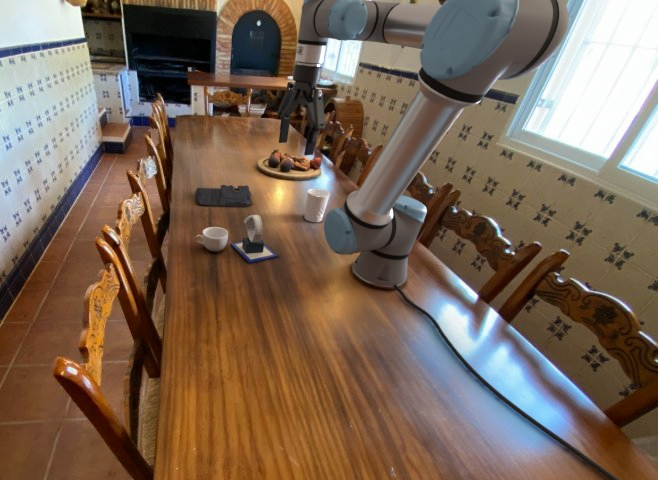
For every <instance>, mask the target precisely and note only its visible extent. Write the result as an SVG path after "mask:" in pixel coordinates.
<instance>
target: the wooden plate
mask: <svg viewBox="0 0 658 480" xmlns="http://www.w3.org/2000/svg"><path fill="white" fill-rule="evenodd" d="M321 166H322V158H321V157H314V158H312V159H310V160H309V158H308V157H307V156H305V155H304V156H303V155H302V156H300V155H299V156H295V155H290V154H288V153H287V152H285V153H284V154H282V151H281V150H280V149H279V148H277V149H273V151H272V152H271V153H270V156H269V155H268V156H264V157H262V158H260V159H258V160H257V162H256V167H257V169H258V170H259V172H261V173H263V174H265V175H268V176H271V177H273V178H277V179H282V180H290V181H291V180H292V181H305V180H311V179H316V178H317V177H319V176H320V175H321V174H322V172H323V170H322V169H323V168H322V167H321Z"/></svg>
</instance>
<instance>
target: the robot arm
mask: <svg viewBox="0 0 658 480" xmlns="http://www.w3.org/2000/svg"><path fill="white" fill-rule="evenodd" d="M302 2H303V3H302V6H301V13H300V23H299V29H298V37H297V46H296V52H295V60H294V61H295V62H296V63H295V65H294V66H293V73H292V81H288V82H287V85H286V90H285V93H284V95H283V97H282V100H281V102H280V105H279V107H278V110H277V112H276V114H277V116H279V118H280V125H279V137H278V143H279V144H287V143H288V138H289V131H290V126H291V125H290V123H291V116H292V114H293V113H294V111H295V110H296V108H297V107H298V105H299V104H300V105H302V106H303V108H305V111H306V115H307V119H308V123H309V128H310V129H308V131H307V136H306V142H305V147H304V152H303V155H304V156H313V155H314V152H315V146H316V144H317V142H318V141H317V140H318V138H319V137H318V136H319V132H320V131H324V130H325V129H326V121H325V119H326V118H325V108H324V107H325V106H324V96H325V95H324V94H325V90H324V89H323V88H317V85H318V84H319V83H320V82H321V78H322V70H323V67H322V66H321V65H323V64H324V61H325V56H326V50H327V44H328V39H331V40H337V41H343V42H344V41H359V42H360V41H361V42H372V43H380V44H386V45H393V46H394V45H395V46H399V47H400V46H401V47H405V48H412V49H420V50H421V51H420V52H419V59H420V61H419V62H420V65H421V67H420V69H419V70H418V73H417V78H418V82H419V88H418V89H417V91H416V93H415V94H414V95H413V98H412V100H411V101H410V103H409V104H408V106H407V107H406V110H405V111H404V113H403V115H402V116H401V118H400V119H399V121H398V123H397V125H396V127H395V128H394V130H393V131H392V134H391V135H390V137H389V139H388V140H387V141H386V143H385V145H384V147H383V149H382V150H381V152H380V153H379V156H378V157H377V159H376V161H375V162H374V164H373V165H372V166H371V169H370V170H369V172H368V174H367V175H366V177H365V179H364V181H363V182H362V184H361V186H360V187H359V189H358V190H353V191H352V192H350V193H349V194H348V195H347V197H346V199H345V201H344V202H343V204H342V206H340V207H334V208H332V209H330V210H329V211H328V212H327V214H326V215H325V218H324V221H323V231H324V237H325V240H326V243H327V245H328V247H329V248H330V250H331V251H332V252H333V253H335V254H337V255H340V256H346V255H349V256H350V255H355V254H359V255H357V257H356V258H355V259H354V261H353V263H352V267H351V273H352V275H353V276H354V278H355V279H357V280H358V281H360V282H361V283H363V284H364V285H367V286H369V287H372V288H375V289H378V290H379V289H380V290H389V291H390V290H396V291H397V292H398V293H399V295H401V297H402V298H403V299H404V300H405V302H406V303H408V304H409V305H410V306H412V307H413V308H414V309H416V310H417V311H419V312H420V313H422V314H423V315H424V316H426V317H427V318H428V319H429V320H430V321H431V322H432V324H433V325H434V327H435V328H436V331H437V332H438V333H439V335H440V336H441V338H442V339H443V341H444V342H445V343H446V345H447V346H448V348H450V351H452V353H453V354H454V355H455V356H456V357H457V359H458V360H459V361H460V362H461V363H462V364H463V366H465V368H466V369H468V371H469V372H470V373H471V374H472V375H473V376H474V377H475V378H476V379H477V380H478V381H479V382H480V383H481V384H483V386H485V387H486V388H487V389H488V390H489V391H490V392H492V394H494V395H495V396H496V397H497V398H499V399H500V400H501V401H502V402H504V403H505V404H506V405H508V406H509V407H510V408H511V409H513V410H514V411H515V412H517V414H519V415H521V417H522V418H524V419H526V420H527V421H528V422H529V423H531V424H532V425H534V426H535V427H537V428H538V429H539V430H541V431H542V432H544V433H545V434H547V435H548V436H550V437H551V439H554V440H555V441H557V442H558V443H559V444H560V445H562V446H563V447H564V448H566V449H567V450H569V451H570V452H571V453H573V454H574V455H576V456H577V457H579V458H580V459H582V460H583V461H584V462H585V463H587V464H588V465H589V466H591V467H592V468H594V469H595V470H596V471H598V472H599V473H601V474H602V475H603V476H605V477H606V478H607V479H609V480H620V479H619V478H618V477H616V476H615V475H613V474H612V473H610V472H609V471H608V470H606V469H605V468H604V467H602V466H601V465H599V464H598V463H596V462H595V461H594V460H592V459H591V457H588V456H587V455H586V454H584V453H583V452H581V451H580V450H579V449H577V448H576V447H574V446H573V445H572V444H570V443H569V442H567V441H566V440H565V439H563V438H562V437H561V436H559V435H557V434H556V433H555V432H554V431H552V430H550V429H548V427H546V426H545V425H543V424H542V423H540V422H539V421H538V420H536V419H535V418H533V417H532V416H531V415H529V414H528V413H526V412H525V411H524V410H523V409H521V408H520V407H518V406H517V404H515V403H513V402H512V401H511V400H510V399H508V398H507V397H506V396H504V395H503V394H502V393H501V392H499V391H498V390H497V389H496V388H494V387H493V386H492V384H490V383H489V382H488V381H487V380H486V379H485V378H484V377H482V375H480V374H479V373H478V372H477V371H476V370H475V369H474V368H473V367H472V365H470V364H469V363H468V361H467V360H466V359H465V358H464V357H463V355H461V354H460V352H459V351H458V350H457V348H455V346H454V345H453V343H452V342H451V341H450V339H449V338H448V337H447V336H446V334H445V333H444V331H443V330H442V328H441V326H440V324H439V323H438V322H437V320H436V319H435V318H434V317H433V316H432V315H431V314H430V313H429V312H428V311H426V310H425V309H423V308H422V307H420V306H419V305H417V304H416V303H414V302H413V301H411V300H410V299H409V298H408V297H407V295H406V294H405V293H404V292H403V290H402V289H401V288H402V287H403V286H404V285H405V283H406V281H407V278H408V262H409V261H408V260H409V256H410V254H411V252H412V249H413V247H414V245H415V242H416V240H417V238H418V235H419V233H420V231H421V228H422V226H423V224H424V223H425V218H426V216H427V213H428V212H427V211H428V210H427V207H426V205H425V204H423V202H421V201H419V200H417V199H415V198H412V197H410V196H406V195H403V194H404V193H405V191H406V190H407V188H408V187H409V185H410V184H411V183H412V181H413V180H414V178H415V177H416V176H417V174H418V173H419V172H420V171H421V169H422V168H423V166H424V165H425V164H426V162H427V161H428V159H429V158H430V157H431V155H432V153H433V152H434V151H435V149H436V148H437V147H438V145H439V144H440V143H441V141H442V140H443V138H444V137H445V136H446V134H447V133H448V131H449V130H450V129H451V127H452V126H453V124H455V122H456V120H457V119H458V118H459V116H460V115H461V113H462V112H463V111H464V109H466V108H468V107H472V106H475V105H478V104H479V103H481V101H482V100H483V98H484V97H485V96H486V95H487V93H488V92H489V90H490V89H491V88H492V87H493V85H494V84H495V82H496V81H503V80H505V81H507V80H513V79H518V78H521V77H524V76H527V75H529V74H531V73H532V72H534V71H537V70H538V69H539V68H540V67H542V66H543V65H544V64H545V63H546V62H548V60H549V59H550V58H552V57H553V55H554V54H555V53H556V52H557V50H558V49H559V48H560V46H561V45H562V42H563V41H564V39H565V36H566V34H567V31H568V28H569V11H568V7H567V4H566V2H565V1H564V0H445V1H444V2H443V4H431V3H430V4H427V3H426V4H425V3H405V2H404V3H401V2H386V1H376V0H303V1H302Z"/></svg>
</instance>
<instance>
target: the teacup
mask: <svg viewBox="0 0 658 480" xmlns="http://www.w3.org/2000/svg"><path fill="white" fill-rule="evenodd" d="M198 238H200V239H201V240H202V241H200V240H198ZM228 238H229V231H228V230H227V229H226V228H223V227H219V226H209V227H206V228H204V229H203V230H202V234H197V235H196V236H195V242H196V243H198V244H200V245H203V246H204V247H205V248H206V249H207V250H208V251H210V252H220V251H223V250H224V249H225V248H226V247H227V244H228Z"/></svg>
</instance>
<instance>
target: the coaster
mask: <svg viewBox="0 0 658 480" xmlns="http://www.w3.org/2000/svg"><path fill="white" fill-rule="evenodd" d="M242 243H243V240H242V241H237V242H231V243H230V246H231V247H232V248H233V250H235V251H236V252H238V254H239V255H240V256H241V257H242V258H243V259H244V261H246V262H247V263H248V264H253V263H258V262H262V261H266V260H270V259H271V260H272V259H276V258H278V254H277V253H275V252H274V251H273V250H272V249H271V248H270V247H269V246H267V245H266V244H265V243H264V249H263V252H262V253H249V254H246V253H245V251H244V249H243V247H242Z"/></svg>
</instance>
